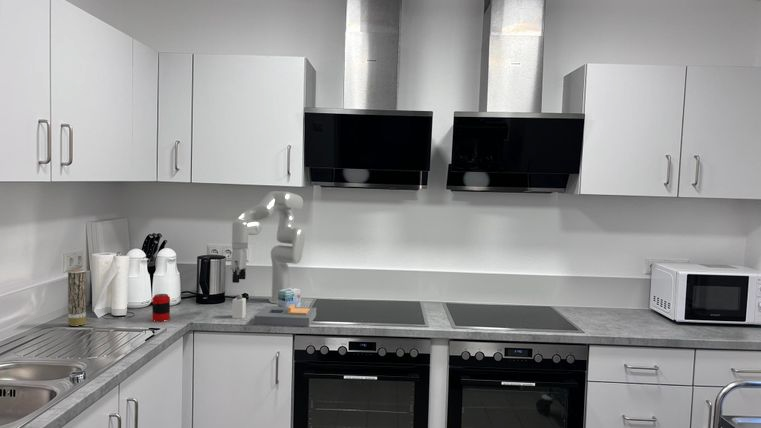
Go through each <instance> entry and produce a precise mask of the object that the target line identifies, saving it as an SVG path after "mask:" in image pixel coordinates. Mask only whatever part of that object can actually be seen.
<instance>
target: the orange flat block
mask: <svg viewBox="0 0 761 428" xmlns="http://www.w3.org/2000/svg"><path fill="white" fill-rule="evenodd" d="M308 308H309V307H305V308H294V304H291V305H290V306H289V307H288V314H302V315H306V314H307V313H308V312H309V310H310V309H308Z"/></svg>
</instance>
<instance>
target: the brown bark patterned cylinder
mask: <svg viewBox="0 0 761 428" xmlns="http://www.w3.org/2000/svg"><path fill="white" fill-rule="evenodd" d="M86 274H87V273H86V269H84V268H77V269H75V268H74V269H69V270H67V298H68V299H67V309H68V310H67V313H68V314H67V317H68V318H67V319H68V320H67V322H68V323H67V324H68V326H69V325H71V326H76V325H82V324H85V323H87V321H86V320H87V317H86V316H87V310H86V309H87V307H86V306H87V303H86V301H87V300H86V299H87V298H86V295H87V294H86V291H87V289H86V287H87V285H86V281H87V280H86V279H87V278H86ZM85 325H86V324H85Z"/></svg>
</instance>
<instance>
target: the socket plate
mask: <svg viewBox="0 0 761 428" xmlns="http://www.w3.org/2000/svg"><path fill="white" fill-rule="evenodd" d="M294 308H306V307H304V306H300V307H294ZM307 308H308V309H310V310H309V312H308V313H307V314H306V315H302V314H288V307H279V306H278V305H276V306H275V305H265V306H264V307H263V308H261V309H260V310H259V311H258V312H256V313H255V315H253V325H258V326H259V325H261V326H262V325H267V326H286V327H287V326H288V327H289V326H290V327H292V326H293V327H310V326H311V324H312V323H313V321H314V320H315V318H316V316H317V307H307Z"/></svg>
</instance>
